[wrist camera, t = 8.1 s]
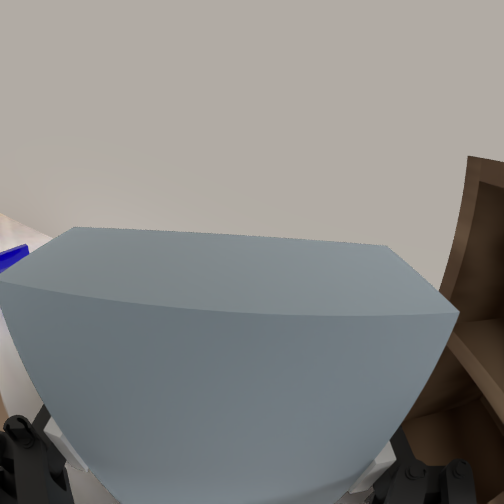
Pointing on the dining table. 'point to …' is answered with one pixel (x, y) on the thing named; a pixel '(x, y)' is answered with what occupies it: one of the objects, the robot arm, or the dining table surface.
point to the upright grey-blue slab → (223, 359)
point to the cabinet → (470, 345)
